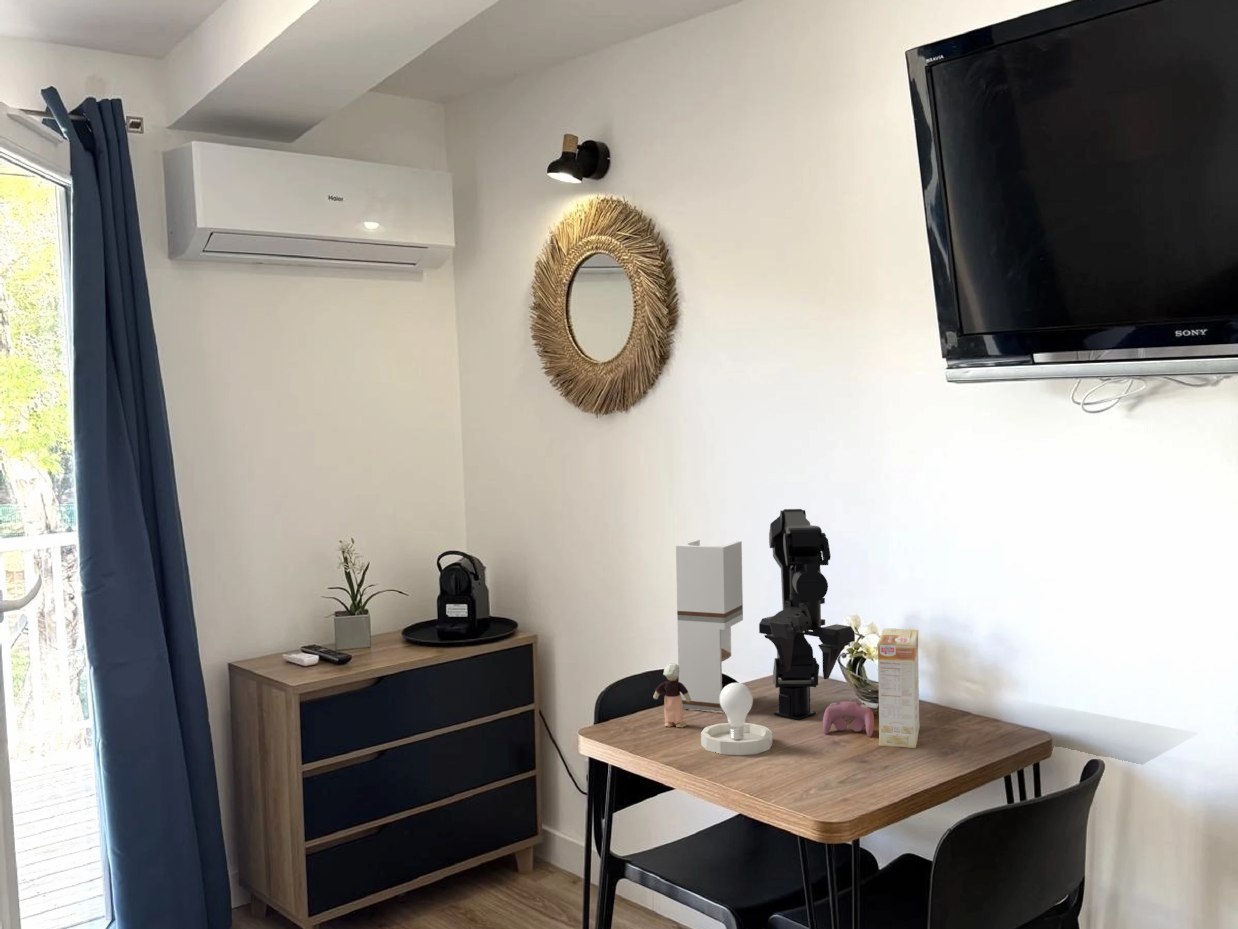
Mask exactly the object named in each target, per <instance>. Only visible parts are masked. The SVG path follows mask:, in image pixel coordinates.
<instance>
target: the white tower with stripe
mask: <svg viewBox="0 0 1238 929" xmlns="http://www.w3.org/2000/svg"><path fill="white" fill-rule="evenodd" d="M742 543H743V542H742V540H741V541H740V540H739V541H738V540H737V541H735V542H734V541H733V542H732V543H728V544H724V545H723V544H722V545H714V546H712V545H709V546H703V545H701V542H700V539H695V540H691V541H687V542H685V543H681V544H678V545H676V546H675V553H676V554H675V558H676V559H675V560H676V562H675V567H676V568H675V569H676V605H677V606H676V607H677V608H676V609H677V610H676V614H677V615H676V616H677V622H676V623H677V662H678V664H677V665H678V666H679V669H680V670H679V676H678V682H680V683H682V684H683V685H684V686H685V687H686V689H687V690H688V693H689V697H690V698H691V701H690V702H687V701H686V698H685V697H684V695H683V694H682V693H681V692H680V695H681V698H682V706H683V709H700V710H714V711H722V712H724V711H723V710H722V708H721V706H720V702H719V697H720V693H721V691H722V689H723V683H722V682H723V671H722V667H723V665H722V662H724V661H727V660H728V659H730V658H731V657H732V627H733V626H735V625H737V624H739V623H740V622H741V621H743V620H744V610H743V609H744V606H743V605H744V603H743V601H744V600H743V597H744V596H743V549H742V548H743V547H742V545H743V544H742Z"/></svg>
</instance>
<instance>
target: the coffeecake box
mask: <svg viewBox="0 0 1238 929" xmlns="http://www.w3.org/2000/svg"><path fill="white" fill-rule="evenodd" d="M877 673H878V674H877V675H878V676H877V678H878V680H877V681H878V686H877V687H878V735H879V736H878V737H879V738H878V746H879V747H891V748H892V747H893V748H911V749H916V748H917V744H918V738H919V733H920V732H919V731H920V689H919V688H920V687H919V683H920V682H919V681H920V680H919V630H918V629H904V628H893V627H892V628H887V627H886V628H882V632H881V634H880V637H879V639H878V641H877Z"/></svg>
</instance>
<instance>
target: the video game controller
mask: <svg viewBox="0 0 1238 929" xmlns="http://www.w3.org/2000/svg"><path fill="white" fill-rule="evenodd" d="M845 718H854V719H853V720H852V721H851V723H850V727H851V729H852V731H854V732H855V733H860V732H862V731H863V729H864V727H865V733H866V735H867V737H868V738H871V737H872V736H873V734H874V728H875V716H874V712H873V710H872V709H871V708H870V707H869V706H868V705H866V704H863V703H859V702H857V701H849V700H848V701H844V700H843V701H839V702H831V703H830V704H829V705H828V706H827V707H826V708H825V711H824V713H823V718H822V732H823V734H825V735H827V734H829V732H830V730H831V728H832V726H833V725H834V726H835V728H836V729H835V730H837V731H838V732H843V731H846V729H847V727H848V726H847V725H848V724H847V722H846V720H845Z"/></svg>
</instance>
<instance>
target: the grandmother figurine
mask: <svg viewBox="0 0 1238 929" xmlns="http://www.w3.org/2000/svg"><path fill="white" fill-rule="evenodd" d="M679 670H680V669H679V666H678V664H677V663H674V662H673V663H669V664H667V665H666V666H665V668H664V669H663V674H662V675H663V676H665V677H666V679H667V680H666V681H663V682H661V683H660V684H659V685H657V687H656V688H655V689H654V690H655V692H654V694H653V699H654V700H658V699H659V696H660V695H662V694H664V700H663V701H664V702H663V704H664V705H663V711H664V713H663V714H664V727H665V726H669V727H668V728H671V727H670V726H673V725H674V724H675V723H677V724H675V725H674V726H676V727H675V728H677V727H682V728H685V727H687V726H688V724H687V723H686V722H687V721H685V720H684V719H685V718H684V710H683V706H682V698H681V695H680V692H681V693H682V694H683V695H684V697H685V698H686V701H687V702H690V701H691V698H690V697H689V693H688V690H687V689H686V687H685V686H684V685H683V684H682V683H680V682H679V681H677V680H679ZM686 725H687V726H686ZM674 726H673V727H674ZM684 726H685V727H684Z"/></svg>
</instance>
